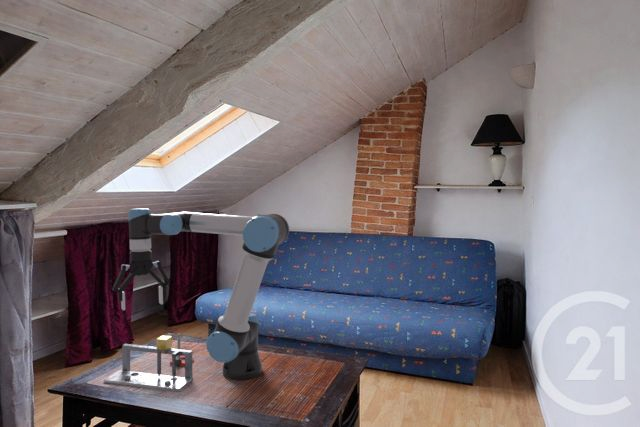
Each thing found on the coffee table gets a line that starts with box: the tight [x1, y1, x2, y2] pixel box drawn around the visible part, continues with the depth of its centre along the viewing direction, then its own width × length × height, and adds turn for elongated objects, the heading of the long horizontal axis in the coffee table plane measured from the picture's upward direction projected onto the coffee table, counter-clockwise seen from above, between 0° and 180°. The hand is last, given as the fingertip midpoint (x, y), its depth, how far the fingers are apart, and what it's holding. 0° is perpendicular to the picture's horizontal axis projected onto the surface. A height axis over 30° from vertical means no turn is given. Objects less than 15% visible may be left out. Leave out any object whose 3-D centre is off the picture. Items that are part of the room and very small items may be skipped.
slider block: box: [155, 335, 173, 376], centre depth 174 cm, size 4×6×13 cm, turn 168°
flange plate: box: [103, 369, 193, 393], centre depth 170 cm, size 30×9×2 cm, turn 78°
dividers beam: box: [121, 343, 193, 379], centre depth 175 cm, size 28×5×10 cm, turn 78°
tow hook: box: [169, 333, 195, 367], centre depth 189 cm, size 8×13×9 cm
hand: (142, 306), depth 174 cm, fingers open, 13 cm apart
